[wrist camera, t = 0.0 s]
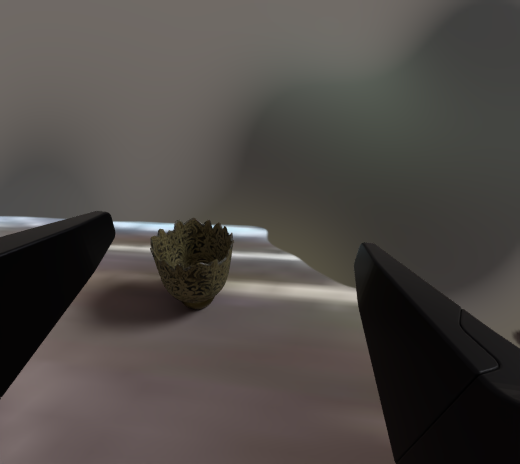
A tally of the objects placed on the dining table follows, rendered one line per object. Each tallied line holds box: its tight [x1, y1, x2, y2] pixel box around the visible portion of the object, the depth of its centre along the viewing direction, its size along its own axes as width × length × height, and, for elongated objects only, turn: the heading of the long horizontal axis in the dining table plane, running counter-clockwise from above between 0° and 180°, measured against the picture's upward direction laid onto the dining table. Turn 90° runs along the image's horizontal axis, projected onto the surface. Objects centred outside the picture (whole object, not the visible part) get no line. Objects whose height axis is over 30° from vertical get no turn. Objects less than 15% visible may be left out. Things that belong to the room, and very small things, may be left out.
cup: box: [150, 218, 234, 309], centre depth 26 cm, size 8×7×8 cm
